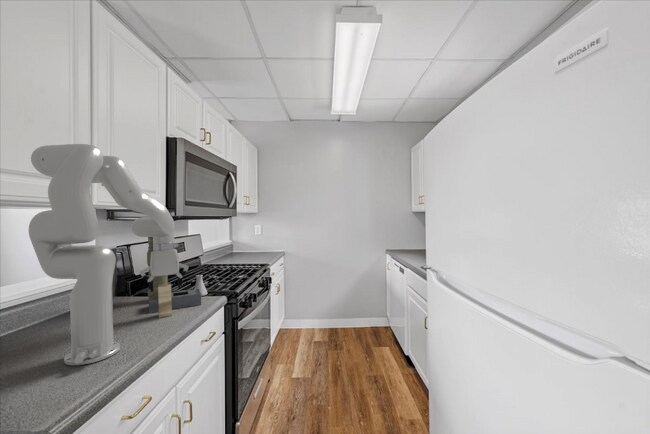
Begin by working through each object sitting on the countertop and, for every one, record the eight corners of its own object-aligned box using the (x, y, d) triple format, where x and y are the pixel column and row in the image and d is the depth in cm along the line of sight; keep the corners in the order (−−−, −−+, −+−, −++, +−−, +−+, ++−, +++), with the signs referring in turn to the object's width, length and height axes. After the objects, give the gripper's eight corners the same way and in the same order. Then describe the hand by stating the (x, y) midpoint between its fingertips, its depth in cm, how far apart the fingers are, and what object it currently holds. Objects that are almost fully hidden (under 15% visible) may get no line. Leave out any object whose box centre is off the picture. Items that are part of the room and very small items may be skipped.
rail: (201, 304, 129) (201, 293, 129) (149, 312, 120) (148, 300, 120) (199, 299, 138) (198, 288, 138) (150, 306, 128) (150, 295, 128)
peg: (171, 315, 115) (171, 285, 115) (158, 317, 113) (158, 287, 113) (171, 312, 119) (171, 283, 119) (159, 314, 117) (158, 285, 117)
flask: (210, 293, 149) (209, 273, 149) (202, 297, 142) (202, 276, 141) (196, 293, 149) (196, 274, 149) (189, 297, 142) (188, 277, 142)
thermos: (169, 295, 146) (168, 226, 146) (168, 301, 135) (166, 227, 135) (149, 298, 142) (147, 227, 142) (146, 304, 131) (144, 227, 131)
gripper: (187, 244, 124) (188, 283, 124) (139, 248, 116) (141, 290, 116) (188, 246, 117) (190, 288, 118) (137, 250, 109) (139, 295, 110)
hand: (165, 289), depth 117 cm, fingers open, 9 cm apart
